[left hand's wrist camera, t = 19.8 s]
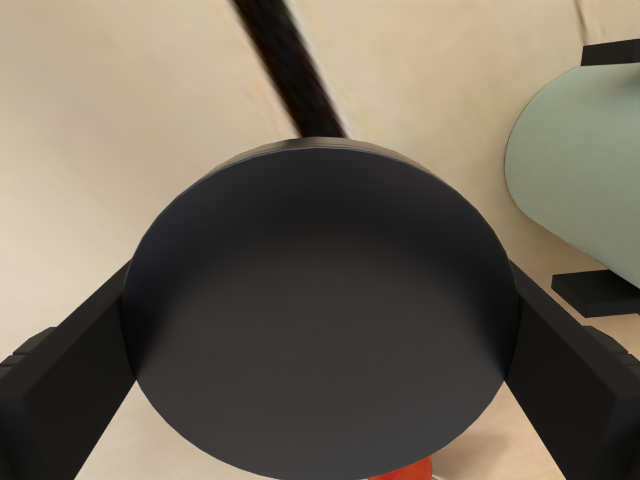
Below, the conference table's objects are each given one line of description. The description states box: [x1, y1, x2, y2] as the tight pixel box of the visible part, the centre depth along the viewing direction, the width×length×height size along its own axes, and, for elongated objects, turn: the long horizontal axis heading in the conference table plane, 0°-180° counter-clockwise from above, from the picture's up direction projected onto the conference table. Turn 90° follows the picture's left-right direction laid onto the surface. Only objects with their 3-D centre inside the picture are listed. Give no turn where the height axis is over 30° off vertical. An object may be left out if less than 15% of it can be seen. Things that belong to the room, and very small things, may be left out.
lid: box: [121, 137, 520, 480], centre depth 11 cm, size 11×11×2 cm
